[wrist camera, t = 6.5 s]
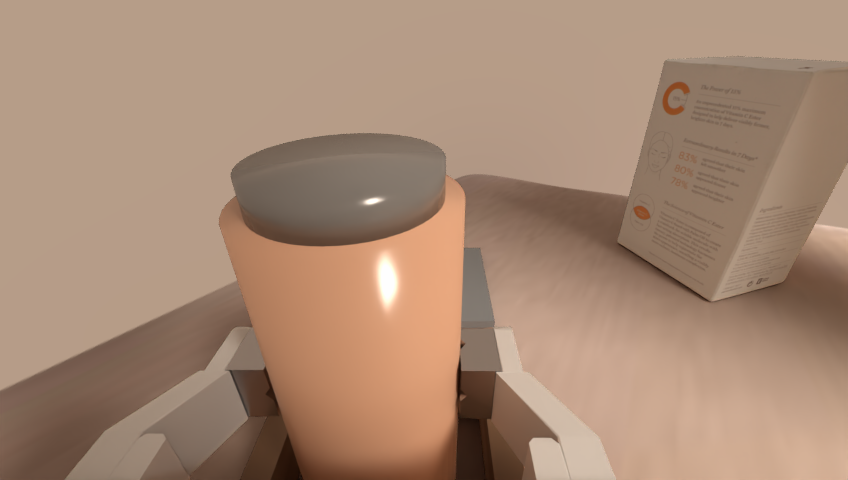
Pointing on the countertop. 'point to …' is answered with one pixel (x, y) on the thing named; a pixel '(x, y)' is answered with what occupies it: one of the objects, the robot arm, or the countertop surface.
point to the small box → (736, 169)
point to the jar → (355, 299)
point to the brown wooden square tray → (278, 469)
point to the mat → (475, 292)
